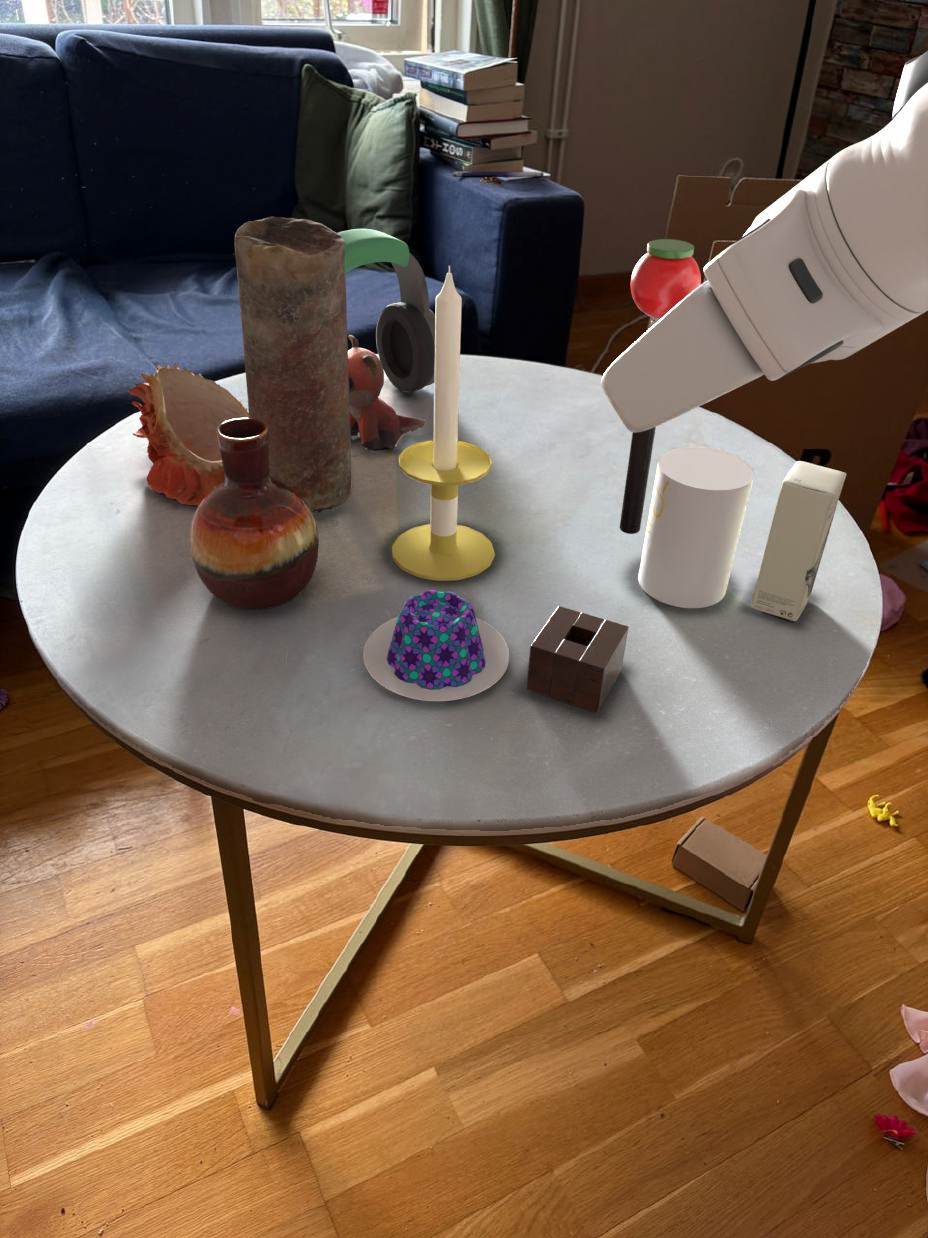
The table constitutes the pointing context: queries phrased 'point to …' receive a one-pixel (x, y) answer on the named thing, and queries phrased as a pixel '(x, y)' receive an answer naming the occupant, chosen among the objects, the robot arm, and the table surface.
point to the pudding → (436, 650)
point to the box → (797, 539)
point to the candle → (444, 468)
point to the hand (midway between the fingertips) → (640, 396)
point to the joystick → (655, 293)
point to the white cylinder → (694, 525)
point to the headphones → (398, 310)
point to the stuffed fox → (373, 403)
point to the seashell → (184, 431)
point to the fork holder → (576, 658)
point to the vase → (252, 526)
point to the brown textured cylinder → (298, 352)
